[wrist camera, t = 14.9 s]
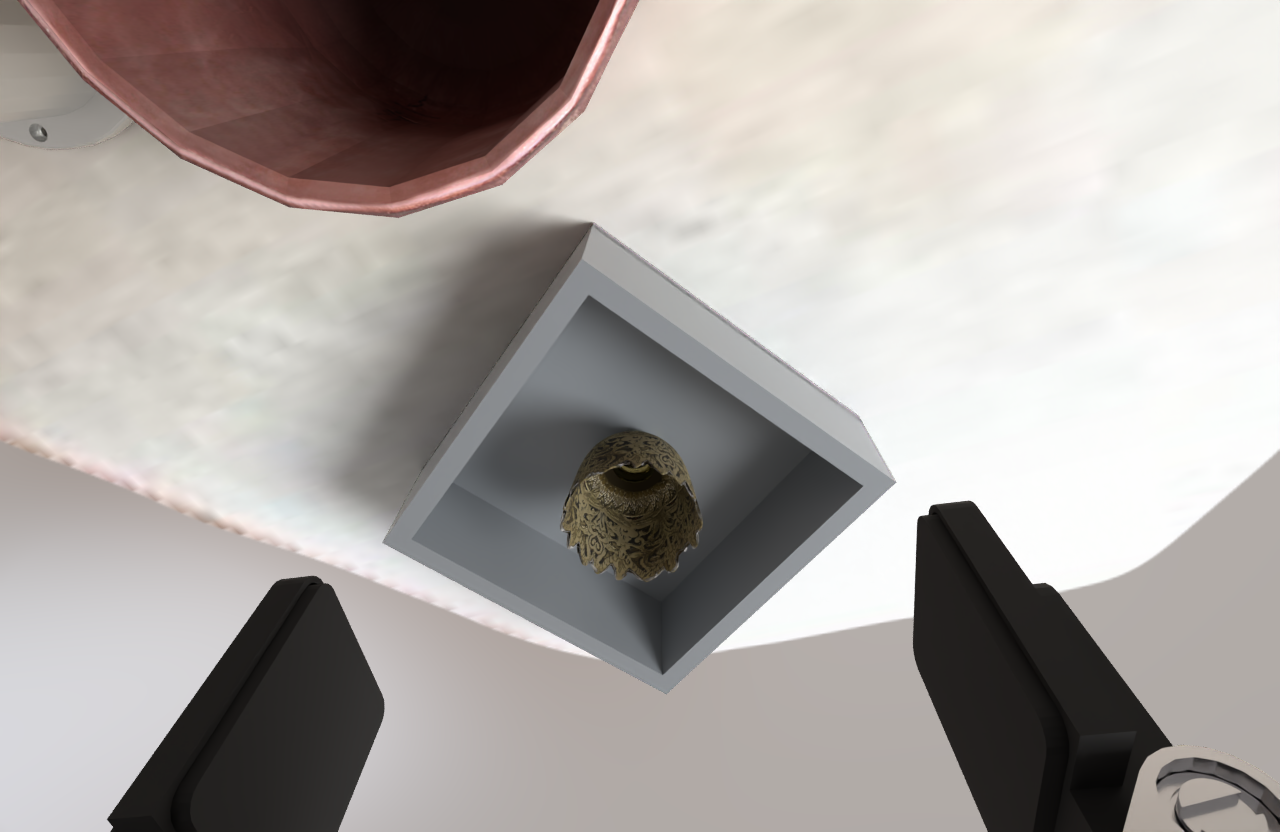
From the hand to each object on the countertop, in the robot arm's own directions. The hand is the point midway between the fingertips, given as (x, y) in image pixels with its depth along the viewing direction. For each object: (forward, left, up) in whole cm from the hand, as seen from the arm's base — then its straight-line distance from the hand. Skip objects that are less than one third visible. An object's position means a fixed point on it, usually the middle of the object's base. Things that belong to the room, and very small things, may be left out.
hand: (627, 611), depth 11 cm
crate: (+8, -12, -30) cm, 34 cm away
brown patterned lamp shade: (+8, -12, -30) cm, 33 cm away
